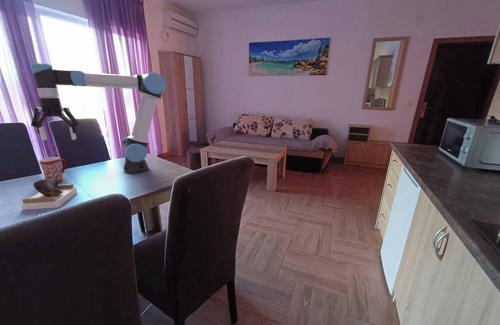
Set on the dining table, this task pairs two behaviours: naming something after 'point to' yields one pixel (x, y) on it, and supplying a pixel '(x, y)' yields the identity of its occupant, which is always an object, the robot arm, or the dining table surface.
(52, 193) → the rock
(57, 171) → the mug
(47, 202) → the display stand
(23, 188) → the dining table surface
